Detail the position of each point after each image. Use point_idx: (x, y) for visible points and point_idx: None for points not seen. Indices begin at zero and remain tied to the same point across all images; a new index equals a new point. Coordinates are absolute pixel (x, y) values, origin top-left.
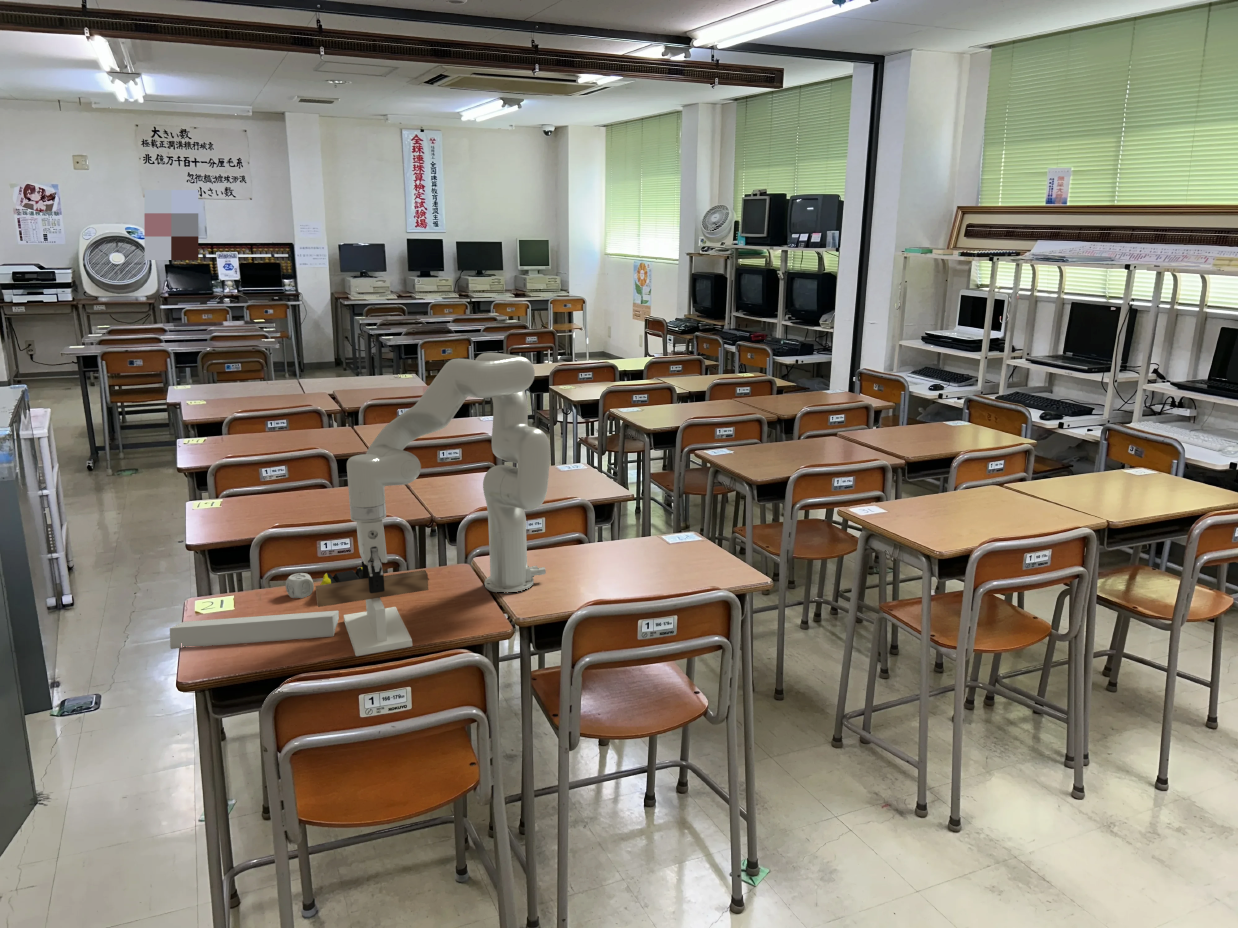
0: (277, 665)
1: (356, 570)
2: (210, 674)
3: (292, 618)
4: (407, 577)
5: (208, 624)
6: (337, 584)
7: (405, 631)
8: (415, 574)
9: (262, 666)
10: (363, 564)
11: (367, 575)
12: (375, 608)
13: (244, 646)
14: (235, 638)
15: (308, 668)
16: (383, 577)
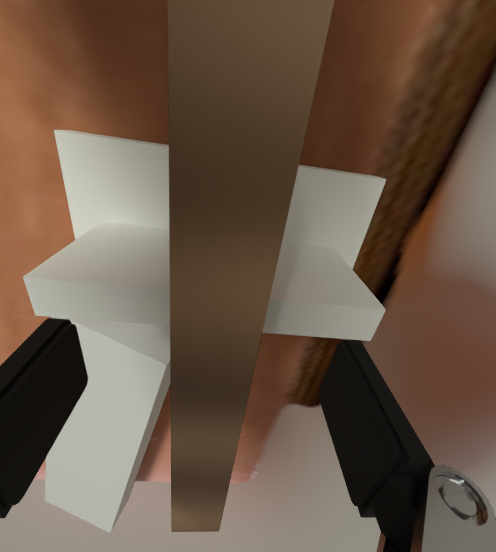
0: (270, 415)
1: None
2: (244, 469)
3: (132, 422)
4: (297, 146)
5: (106, 503)
6: (196, 494)
7: (310, 176)
8: (300, 12)
9: (259, 428)
10: (28, 485)
11: (77, 377)
12: (356, 337)
13: (163, 440)
14: (142, 457)
15: (315, 384)
16: (409, 426)
